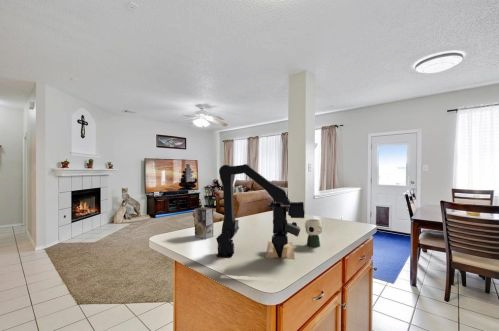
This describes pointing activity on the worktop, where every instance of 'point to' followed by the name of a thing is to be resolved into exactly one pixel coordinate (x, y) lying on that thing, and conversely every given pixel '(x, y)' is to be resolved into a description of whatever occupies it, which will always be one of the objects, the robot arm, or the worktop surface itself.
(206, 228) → the coffee box
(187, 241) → the worktop surface
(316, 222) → the character mug
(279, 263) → the worktop surface
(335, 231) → the worktop surface
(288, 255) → the board
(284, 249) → the block
